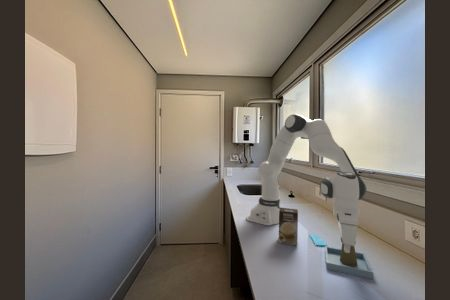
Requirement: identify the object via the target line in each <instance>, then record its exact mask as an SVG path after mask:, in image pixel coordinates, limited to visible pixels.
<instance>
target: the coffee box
mask: <svg viewBox="0 0 450 300" xmlns="http://www.w3.org/2000/svg"><path fill="white" fill-rule="evenodd" d="M298 222H299V211H298V209H296V208H290V207H289V208H288V207H281V206H280V209H279V224H278V243H279V244H285V245H291V246H292V245H293V246H298V239H299V238H298V233H299V232H298V229H299V227H298V226H299V223H298Z"/></svg>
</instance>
